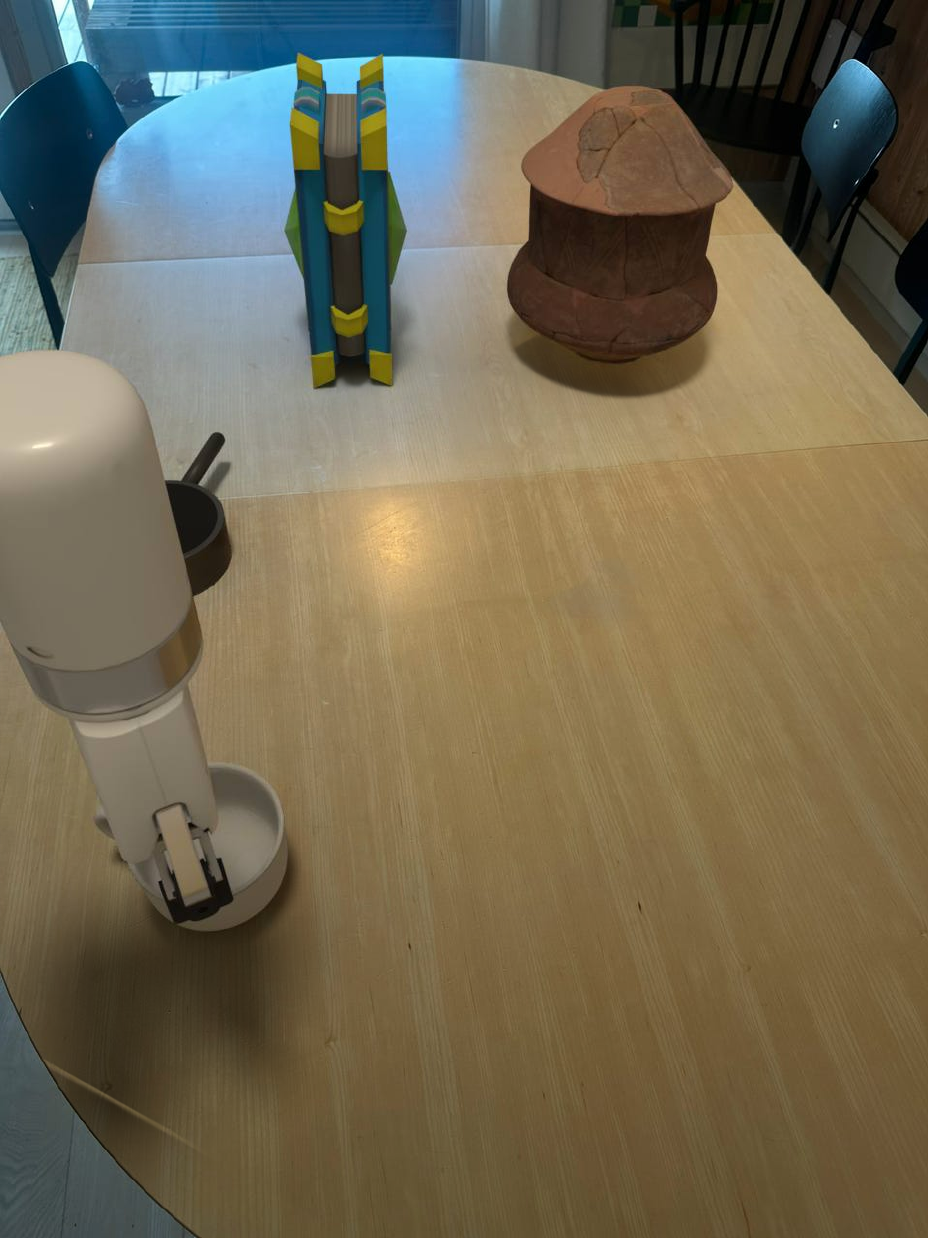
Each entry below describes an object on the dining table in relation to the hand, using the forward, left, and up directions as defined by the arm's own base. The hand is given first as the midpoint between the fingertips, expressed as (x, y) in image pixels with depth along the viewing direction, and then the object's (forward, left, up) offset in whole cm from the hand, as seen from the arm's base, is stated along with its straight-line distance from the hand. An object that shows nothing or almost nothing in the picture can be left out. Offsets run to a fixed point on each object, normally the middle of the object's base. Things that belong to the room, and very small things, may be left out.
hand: (180, 835), depth 54 cm
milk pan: (-21, +42, -18) cm, 50 cm away
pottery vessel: (+16, +87, -18) cm, 91 cm away
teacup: (-4, +6, -18) cm, 20 cm away
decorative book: (-15, +79, -18) cm, 83 cm away
